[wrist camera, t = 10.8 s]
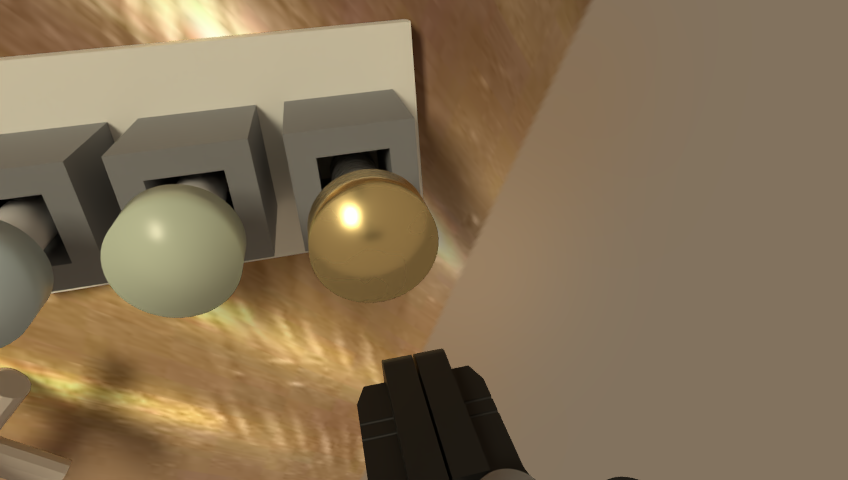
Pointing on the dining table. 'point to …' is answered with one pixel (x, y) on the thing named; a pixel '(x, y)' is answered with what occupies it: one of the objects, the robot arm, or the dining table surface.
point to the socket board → (204, 129)
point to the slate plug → (24, 263)
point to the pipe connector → (18, 463)
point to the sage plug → (176, 247)
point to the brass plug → (369, 232)
